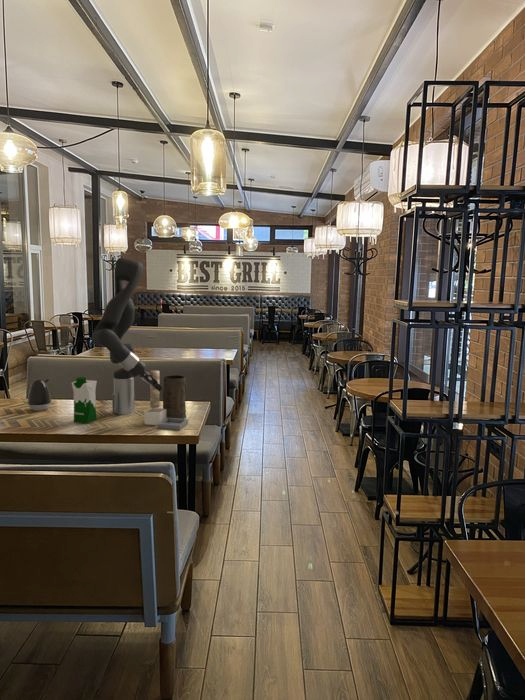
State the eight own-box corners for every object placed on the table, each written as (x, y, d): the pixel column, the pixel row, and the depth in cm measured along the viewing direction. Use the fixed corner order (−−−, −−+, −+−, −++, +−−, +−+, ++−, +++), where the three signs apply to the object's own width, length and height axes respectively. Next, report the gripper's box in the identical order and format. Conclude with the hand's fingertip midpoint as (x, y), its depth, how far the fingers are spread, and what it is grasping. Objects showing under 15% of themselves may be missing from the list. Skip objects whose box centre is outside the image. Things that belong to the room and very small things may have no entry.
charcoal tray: (157, 429, 205) (157, 423, 205) (166, 423, 215) (166, 417, 214) (179, 431, 203) (179, 425, 203) (188, 424, 213) (188, 419, 212)
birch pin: (148, 407, 211) (148, 371, 209) (152, 405, 215) (152, 370, 213) (157, 408, 210) (157, 372, 208) (160, 406, 214) (160, 370, 212)
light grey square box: (144, 425, 211) (144, 411, 210) (151, 420, 218) (151, 407, 217) (159, 426, 209) (159, 413, 209) (166, 421, 216) (166, 408, 216)
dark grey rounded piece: (56, 409, 234) (55, 378, 232) (36, 413, 225) (35, 381, 223) (43, 406, 239) (42, 376, 237) (23, 410, 231) (22, 379, 228)
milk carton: (70, 422, 213) (69, 378, 210) (84, 417, 221) (83, 374, 218) (87, 424, 210) (85, 379, 207) (100, 419, 218) (99, 376, 216)
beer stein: (180, 422, 216) (181, 378, 214) (158, 420, 218) (159, 376, 216) (192, 415, 231) (193, 374, 229) (171, 414, 233) (172, 373, 231)
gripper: (143, 359, 199) (171, 385, 208) (132, 354, 211) (159, 379, 220) (131, 373, 197) (159, 398, 206) (120, 367, 209) (147, 391, 217)
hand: (159, 388), depth 213 cm, fingers closed on birch pin, 4 cm apart
